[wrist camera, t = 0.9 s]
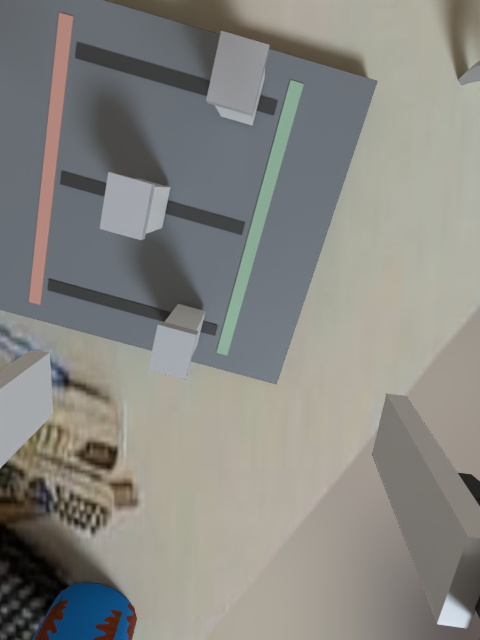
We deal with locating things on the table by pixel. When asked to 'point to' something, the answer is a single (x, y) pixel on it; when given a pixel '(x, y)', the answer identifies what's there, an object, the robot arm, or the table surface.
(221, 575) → the table surface
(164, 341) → the block
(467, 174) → the table surface
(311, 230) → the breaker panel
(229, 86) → the block
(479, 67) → the pliers
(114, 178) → the block
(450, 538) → the robot arm
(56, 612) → the thermos
